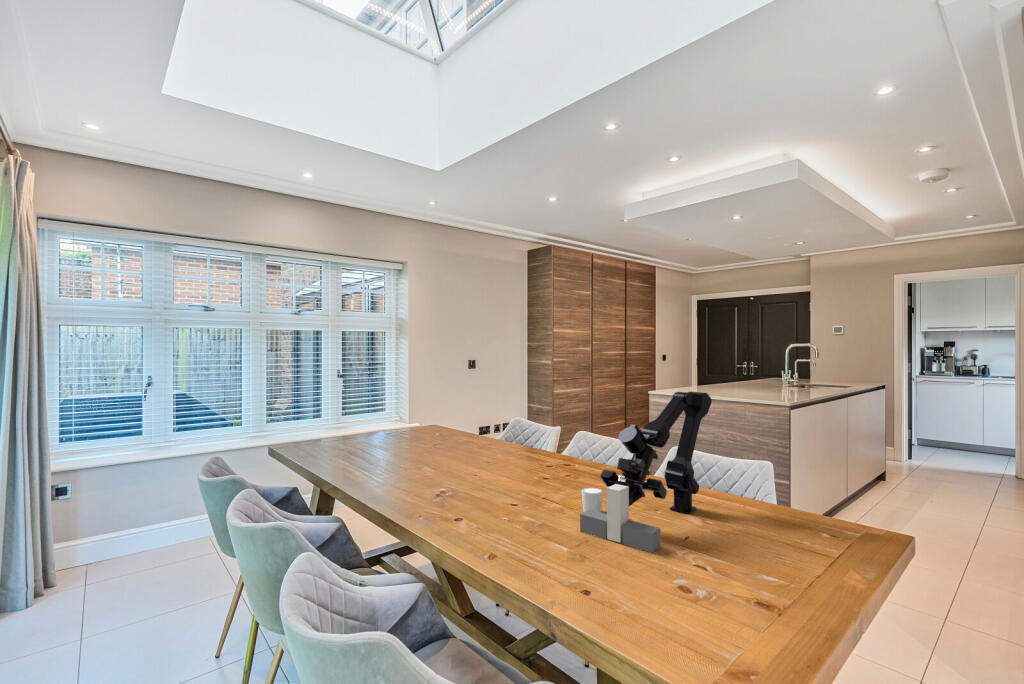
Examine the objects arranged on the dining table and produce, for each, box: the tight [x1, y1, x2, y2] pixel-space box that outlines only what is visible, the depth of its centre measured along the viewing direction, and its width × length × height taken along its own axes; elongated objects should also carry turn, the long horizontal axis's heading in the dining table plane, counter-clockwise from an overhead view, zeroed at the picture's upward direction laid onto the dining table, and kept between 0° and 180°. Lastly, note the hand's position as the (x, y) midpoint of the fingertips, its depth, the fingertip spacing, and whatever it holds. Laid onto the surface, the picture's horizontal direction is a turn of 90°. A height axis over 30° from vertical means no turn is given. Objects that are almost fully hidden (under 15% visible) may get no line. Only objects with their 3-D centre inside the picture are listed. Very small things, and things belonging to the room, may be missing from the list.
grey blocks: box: [579, 510, 662, 554], centre depth 132 cm, size 5×22×5 cm, turn 48°
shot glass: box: [581, 487, 604, 513], centre depth 154 cm, size 7×7×7 cm
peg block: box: [606, 484, 630, 544], centre depth 132 cm, size 5×4×14 cm
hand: (622, 509), depth 134 cm, fingers closed, pressing on peg block
